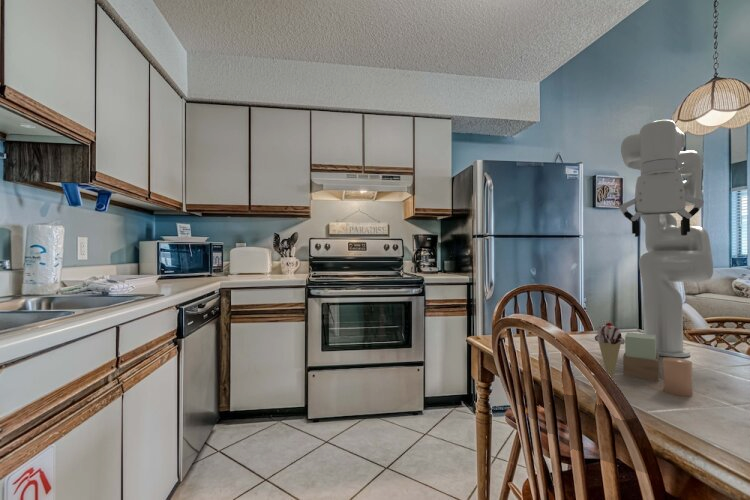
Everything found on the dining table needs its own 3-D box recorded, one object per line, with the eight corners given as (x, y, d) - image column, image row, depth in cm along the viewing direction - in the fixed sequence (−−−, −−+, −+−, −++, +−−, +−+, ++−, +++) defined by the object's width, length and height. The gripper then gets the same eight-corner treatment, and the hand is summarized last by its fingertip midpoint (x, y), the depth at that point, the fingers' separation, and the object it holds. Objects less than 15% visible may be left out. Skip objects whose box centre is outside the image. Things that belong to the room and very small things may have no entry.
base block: (626, 369, 98) (625, 350, 98) (659, 374, 94) (658, 354, 94) (623, 376, 93) (623, 356, 93) (658, 381, 88) (658, 361, 88)
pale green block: (627, 351, 98) (627, 332, 98) (656, 354, 94) (655, 335, 94) (625, 356, 93) (625, 336, 93) (655, 360, 89) (654, 339, 89)
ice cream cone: (630, 393, 81) (628, 324, 81) (601, 391, 82) (600, 324, 82) (618, 384, 86) (617, 320, 87) (591, 383, 87) (590, 319, 88)
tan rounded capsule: (663, 386, 85) (662, 356, 85) (692, 391, 81) (691, 359, 82) (663, 393, 81) (662, 361, 81) (693, 398, 78) (692, 365, 78)
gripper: (698, 169, 94) (700, 235, 93) (617, 177, 103) (619, 237, 102) (706, 162, 87) (708, 233, 87) (619, 171, 96) (620, 236, 96)
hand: (660, 235), depth 94 cm, fingers open, 9 cm apart
